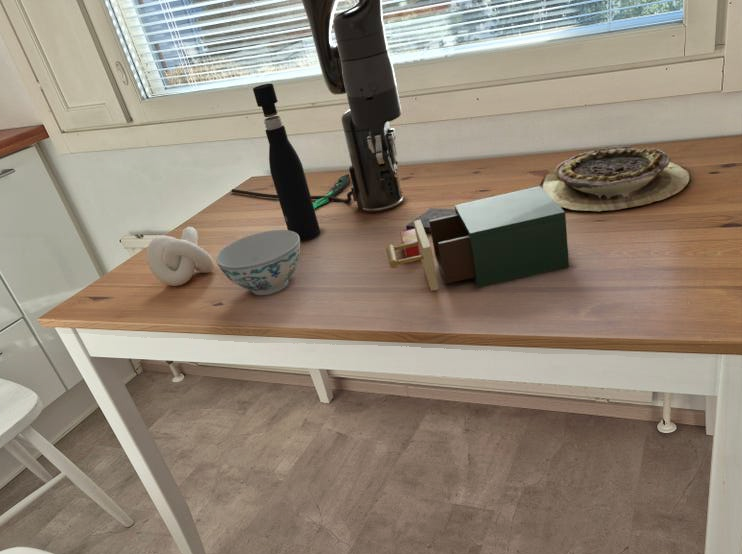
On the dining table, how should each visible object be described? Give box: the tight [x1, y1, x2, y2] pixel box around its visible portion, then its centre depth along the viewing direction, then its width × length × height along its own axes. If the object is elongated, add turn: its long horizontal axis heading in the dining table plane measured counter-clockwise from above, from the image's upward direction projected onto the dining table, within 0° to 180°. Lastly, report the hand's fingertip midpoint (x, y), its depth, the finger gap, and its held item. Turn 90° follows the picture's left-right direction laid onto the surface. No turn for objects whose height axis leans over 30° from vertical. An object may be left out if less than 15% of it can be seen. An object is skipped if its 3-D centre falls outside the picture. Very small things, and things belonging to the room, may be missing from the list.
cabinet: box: [454, 185, 570, 288], centre depth 109 cm, size 15×14×9 cm
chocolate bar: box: [405, 207, 456, 233], centre depth 129 cm, size 9×1×18 cm
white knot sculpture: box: [146, 226, 215, 287], centre depth 133 cm, size 11×12×9 cm
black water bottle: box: [252, 83, 321, 243], centre depth 133 cm, size 6×6×30 cm
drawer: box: [385, 214, 476, 292], centre depth 109 cm, size 19×12×7 cm, turn 96°
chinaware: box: [215, 229, 301, 296], centre depth 120 cm, size 15×15×8 cm
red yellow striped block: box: [399, 229, 420, 258], centre depth 122 cm, size 8×3×3 cm, turn 6°
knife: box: [312, 173, 351, 210], centre depth 162 cm, size 23×1×5 cm
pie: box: [538, 145, 690, 212], centre depth 130 cm, size 28×27×5 cm
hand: (394, 199), depth 109 cm, fingers closed
